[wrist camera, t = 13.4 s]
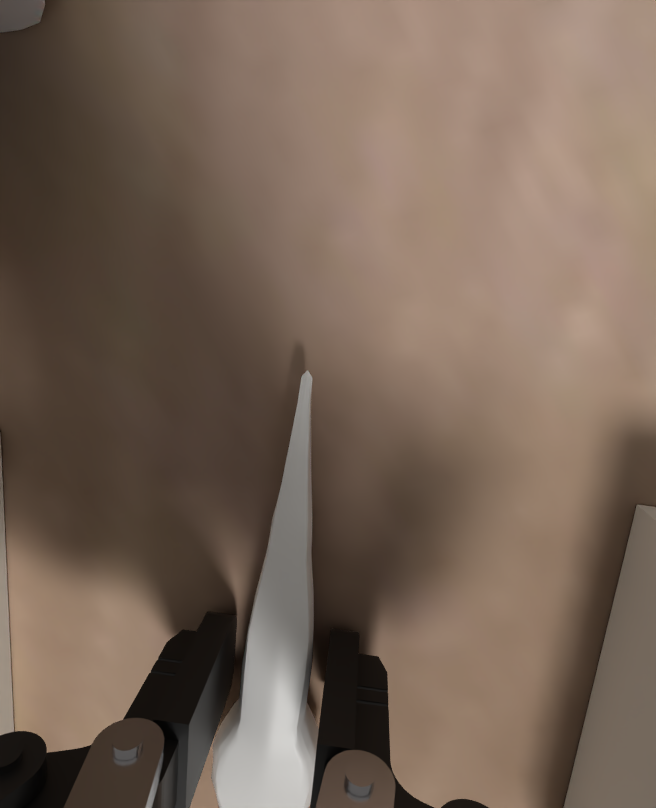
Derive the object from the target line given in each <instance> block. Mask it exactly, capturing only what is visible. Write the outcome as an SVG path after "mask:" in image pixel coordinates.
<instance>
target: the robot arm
mask: <svg viewBox="0 0 656 808" xmlns="http://www.w3.org/2000/svg"><path fill="white" fill-rule="evenodd" d="M236 627H237V617H236V615H229V614H222V613H215V612H207V613H206V615H205V617H204V619H203V621H202V623H201V625H200V627H199V629H198V631H197V632H196V631H189V630H182V631H181V632H179V633H178V634H177V635H175V636H174V637H173V638H172V639H170V640H169V641H168V642H167V643H166V645H165V647H164V649H163V650H162V652H161V654H160V656H159V658H158V660H157V661H156V663H155V664H154V666H153V668H152V670H151V673H149V675H148V677H147V678H146V680H145V682H144V684H143V685H142V687H141V689H140V691H139V693H138V694H137V696H136V698H135V700H134V701H133V703H132V705H131V707H130V708H129V710H128V712H127V714H126V715H125V717H124V719H123V720H120V721H118V722H115V723H113V724H111V725H110V726H108V727H107V728H105V729H104V730H103V731H102V732H101V733H99V734H98V736H97V737H96V738H95V740H94V742H93V743H92V745H90V746H86V747H83V748H78V749H72V750H65V751H58V752H50V753H47V749H46V744H45V742H44V740H43V739H42V738H41V737H40V736H38V735H37V734H34V733H32V732H26V731H17V732H10V733H6V734H3V735H0V808H189V807H190V804H191V801H192V799H193V796H194V793H195V790H196V787H197V784H198V781H199V778H200V776H201V773H202V770H203V767H204V764H205V761H206V758H207V755H208V753H209V750H210V747H211V744H212V741H213V738H214V735H215V732H216V730H217V727H218V724H219V721H220V718H221V715H222V712H223V709H224V707H225V704H226V701H227V698H228V695H229V692H230V688H231V683H232V678H233V672H234V659H235V643H236ZM358 651H359V632H355V631H347V630H340V629H332V628H331V634H330V642H329V650H328V658H327V667H326V675H325V683H324V691H323V699H322V707H321V716H320V724H319V732H318V740H317V749H316V758H315V767H314V777H313V786H312V795H311V805H310V808H434V807H432V806H429V805H427V804H425V803H423V802H421V801H419V800H418V799H416V798H414V797H413V796H411V795H410V794H409V793H408V792H407V791H406V790H404V789H403V787H402V786H401V785H400V784H399V782H398V781H397V779H396V778H395V776H394V774H393V771H392V768H391V763H390V741H389V711H388V682H387V671H386V670H385V668H384V666H383V664H382V662H381V661H380V659H379V657H378V656H370V655H363V654H358ZM441 808H488V807H486V806H485V805H483V804H481V803H478V802H476V801H472V800H467V799H457V800H452V801H450V802H448V803H446V804H445V805H443V806H442V807H441Z"/></svg>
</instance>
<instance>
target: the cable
mask: <svg viewBox="0 0 656 808" xmlns="http://www.w3.org/2000/svg"><path fill="white" fill-rule="evenodd" d="M44 7H45V0H0V33H2V32H9V31H16V30H22V29H25V28H27V27H30V26H32V25H35V24H37V23H40V20H41V17H42V14H43V10H44Z"/></svg>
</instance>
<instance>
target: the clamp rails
mask: <svg viewBox="0 0 656 808" xmlns="http://www.w3.org/2000/svg"><path fill="white" fill-rule="evenodd" d="M10 732H14V719H13V697H12V675H11V653H10V631H9V609H8V587H7V565H6V543H5V522H4V500H3V478H2V456H1V434H0V735H3V734H6V733H10ZM564 808H656V507H654V506H645V505H637V506H636V510H635V515H634V519H633V523H632V527H631V531H630V535H629V539H628V543H627V548H626V552H625V556H624V560H623V564H622V568H621V572H620V576H619V581H618V585H617V589H616V593H615V597H614V601H613V605H612V610H611V614H610V618H609V622H608V626H607V630H606V634H605V638H604V643H603V647H602V651H601V655H600V659H599V663H598V667H597V672H596V676H595V680H594V684H593V688H592V692H591V696H590V700H589V705H588V709H587V713H586V717H585V721H584V725H583V729H582V733H581V738H580V742H579V746H578V750H577V754H576V758H575V762H574V767H573V771H572V775H571V779H570V783H569V787H568V791H567V795H566V800H565V804H564Z"/></svg>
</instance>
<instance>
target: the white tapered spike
mask: <svg viewBox="0 0 656 808" xmlns="http://www.w3.org/2000/svg"><path fill="white" fill-rule="evenodd" d="M311 393H312V376H311V375H310V373H309V371H308V370H307V371H306V372H305V373H304V374H303V375H302V376H301V383H300V390H299V397H298V404H297V409H296V414H295V419H294V424H293V429H292V434H291V439H290V444H289V449H288V454H287V459H286V464H285V469H284V474H283V479H282V484H281V488H280V492H279V496H278V499H277V503H276V507H275V511H274V514H273V518H272V524H271V530H270V536H269V542H268V547H267V551H266V556H265V559H264V563H263V567H262V571H261V575H260V579H259V583H258V586H257V590H256V594H255V599H254V604H253V609H252V613H251V618H250V622H249V627H248V633H247V639H246V645H245V651H244V657H243V663H242V673H241V685H240V697H239V699H238V700H237V701H236V702H235V703H234V705H233V706H232V708H231V709H230V711H229V712H228V714H227V715H226V717H225V718H224V720H223V721H222V723H221V725H220V727H219V730H218V732H217V734H216V737H215V740H214V743H213V766H212V775H211V779H212V782H213V785H214V788H215V792H216V796H217V801H218V805H219V808H308V807H309V805H310V803H311V795H312V786H313V777H314V767H315V758H316V749H317V740H318V732H319V728H318V726H317V723H316V721H315V718H314V716H313V714H312V712H311V709H310V707H309V705H308V703H307V696H308V689H309V682H310V675H311V667H312V656H313V631H314V591H313V572H312V553H311V551H312V480H311Z"/></svg>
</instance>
